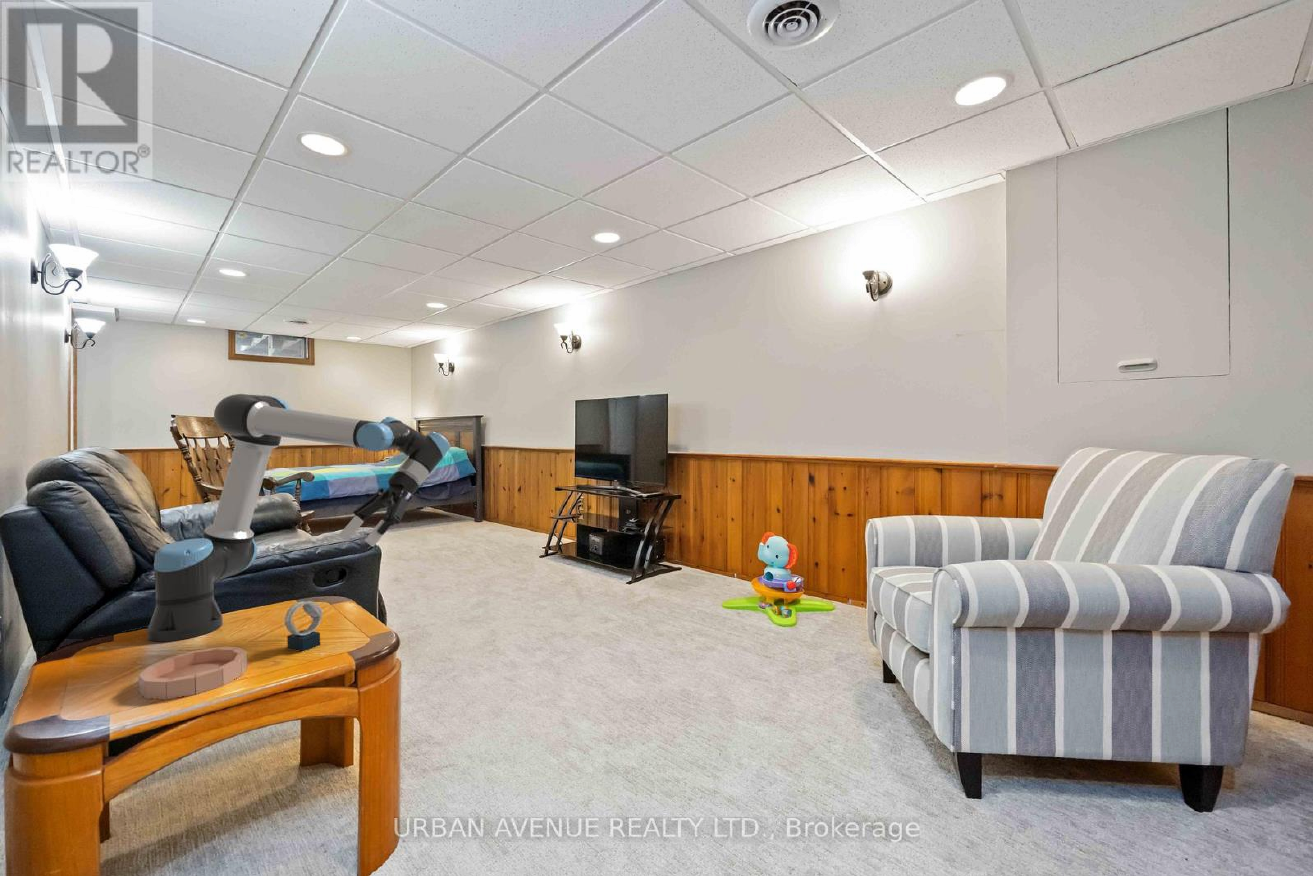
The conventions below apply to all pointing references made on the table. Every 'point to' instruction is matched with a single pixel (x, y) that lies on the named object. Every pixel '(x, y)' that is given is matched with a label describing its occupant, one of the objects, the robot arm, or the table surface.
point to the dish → (192, 672)
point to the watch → (305, 637)
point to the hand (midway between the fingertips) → (355, 541)
